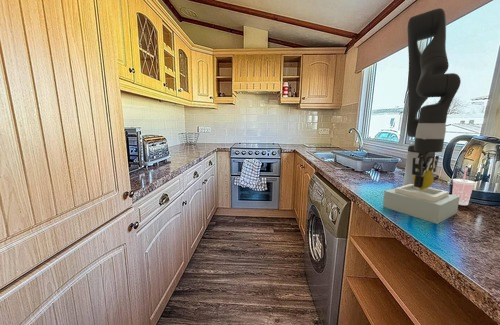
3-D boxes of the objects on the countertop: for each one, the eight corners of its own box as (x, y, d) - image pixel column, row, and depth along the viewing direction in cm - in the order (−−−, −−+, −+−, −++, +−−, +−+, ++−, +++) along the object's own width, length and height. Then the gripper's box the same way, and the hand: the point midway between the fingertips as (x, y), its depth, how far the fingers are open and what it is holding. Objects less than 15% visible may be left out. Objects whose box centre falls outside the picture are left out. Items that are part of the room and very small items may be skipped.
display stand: (404, 199, 86) (406, 181, 85) (456, 213, 73) (460, 192, 72) (382, 206, 78) (385, 187, 77) (437, 223, 65) (441, 200, 64)
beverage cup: (470, 203, 83) (477, 167, 80) (471, 207, 78) (478, 170, 76) (448, 199, 87) (454, 165, 84) (448, 203, 82) (455, 167, 80)
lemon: (424, 187, 77) (427, 166, 76) (435, 192, 72) (439, 169, 70) (407, 187, 78) (410, 165, 76) (418, 192, 72) (421, 169, 71)
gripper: (425, 136, 78) (418, 180, 81) (406, 137, 71) (399, 186, 74) (452, 137, 72) (444, 185, 75) (434, 138, 64) (426, 192, 67)
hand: (422, 185), depth 74 cm, fingers closed on lemon, 5 cm apart
